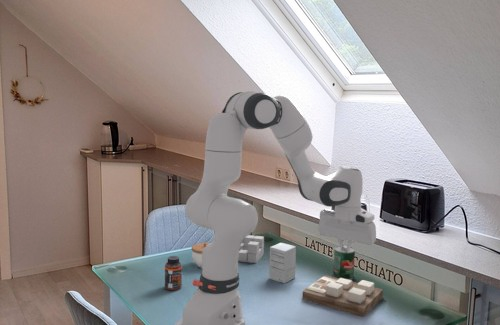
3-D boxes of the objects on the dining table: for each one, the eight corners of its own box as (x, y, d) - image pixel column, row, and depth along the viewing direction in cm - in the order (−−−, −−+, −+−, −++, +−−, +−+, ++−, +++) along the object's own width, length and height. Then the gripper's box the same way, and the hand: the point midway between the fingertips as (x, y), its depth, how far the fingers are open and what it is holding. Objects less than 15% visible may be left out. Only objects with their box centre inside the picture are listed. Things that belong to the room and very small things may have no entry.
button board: (363, 317, 156) (364, 307, 155) (302, 299, 168) (302, 290, 167) (382, 297, 170) (383, 288, 170) (324, 282, 182) (325, 274, 182)
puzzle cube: (237, 251, 216) (237, 233, 215) (263, 254, 213) (264, 236, 211) (228, 260, 205) (228, 241, 203) (256, 263, 201) (256, 244, 200)
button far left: (346, 293, 170) (347, 284, 169) (335, 290, 172) (335, 281, 172) (351, 289, 174) (352, 280, 173) (340, 286, 176) (340, 277, 175)
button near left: (337, 298, 163) (338, 289, 163) (325, 294, 166) (325, 285, 165) (342, 293, 167) (343, 284, 166) (331, 290, 169) (331, 281, 169)
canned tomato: (349, 281, 184) (350, 253, 182) (329, 277, 188) (330, 249, 186) (356, 275, 190) (358, 248, 189) (337, 270, 194) (338, 244, 193)
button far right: (369, 296, 165) (369, 287, 165) (356, 292, 168) (357, 283, 167) (373, 291, 169) (374, 282, 168) (361, 288, 171) (362, 279, 171)
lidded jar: (206, 258, 205) (206, 237, 204) (223, 265, 198) (223, 243, 196) (186, 265, 198) (186, 242, 196) (203, 272, 190) (203, 249, 189)
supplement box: (279, 273, 191) (280, 242, 189) (295, 278, 186) (296, 246, 184) (268, 278, 185) (269, 246, 183) (284, 283, 181) (285, 251, 179)
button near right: (360, 304, 159) (360, 295, 158) (347, 300, 161) (348, 291, 161) (365, 299, 162) (365, 290, 162) (352, 296, 165) (353, 287, 164)
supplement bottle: (173, 292, 171) (172, 261, 169) (161, 288, 175) (161, 257, 173) (185, 287, 176) (185, 257, 174) (173, 283, 179) (173, 253, 178)
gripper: (316, 209, 172) (314, 247, 174) (372, 219, 160) (369, 260, 162) (324, 206, 177) (322, 243, 179) (379, 216, 165) (376, 255, 167)
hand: (345, 251), depth 170 cm, fingers closed
